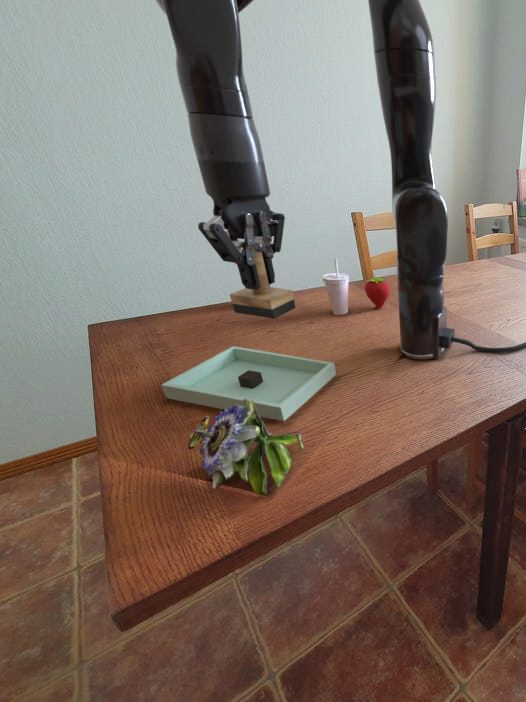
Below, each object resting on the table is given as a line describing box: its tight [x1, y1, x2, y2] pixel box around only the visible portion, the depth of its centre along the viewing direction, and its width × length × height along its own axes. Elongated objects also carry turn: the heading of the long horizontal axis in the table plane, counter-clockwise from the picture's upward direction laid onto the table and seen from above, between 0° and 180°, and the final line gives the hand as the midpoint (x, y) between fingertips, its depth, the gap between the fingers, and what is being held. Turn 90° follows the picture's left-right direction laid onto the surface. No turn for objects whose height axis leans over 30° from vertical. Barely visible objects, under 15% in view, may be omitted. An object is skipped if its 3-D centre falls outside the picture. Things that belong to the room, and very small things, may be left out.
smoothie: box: [322, 258, 350, 316], centre depth 95 cm, size 6×6×14 cm
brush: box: [229, 251, 296, 320], centre depth 57 cm, size 7×5×9 cm
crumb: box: [238, 370, 263, 389], centre depth 65 cm, size 2×2×2 cm
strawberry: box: [364, 272, 391, 309], centre depth 100 cm, size 6×8×10 cm
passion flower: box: [187, 399, 305, 497], centre depth 48 cm, size 11×11×12 cm
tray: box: [160, 346, 337, 422], centre depth 65 cm, size 22×15×3 cm
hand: (260, 285), depth 57 cm, fingers closed on brush, 2 cm apart
